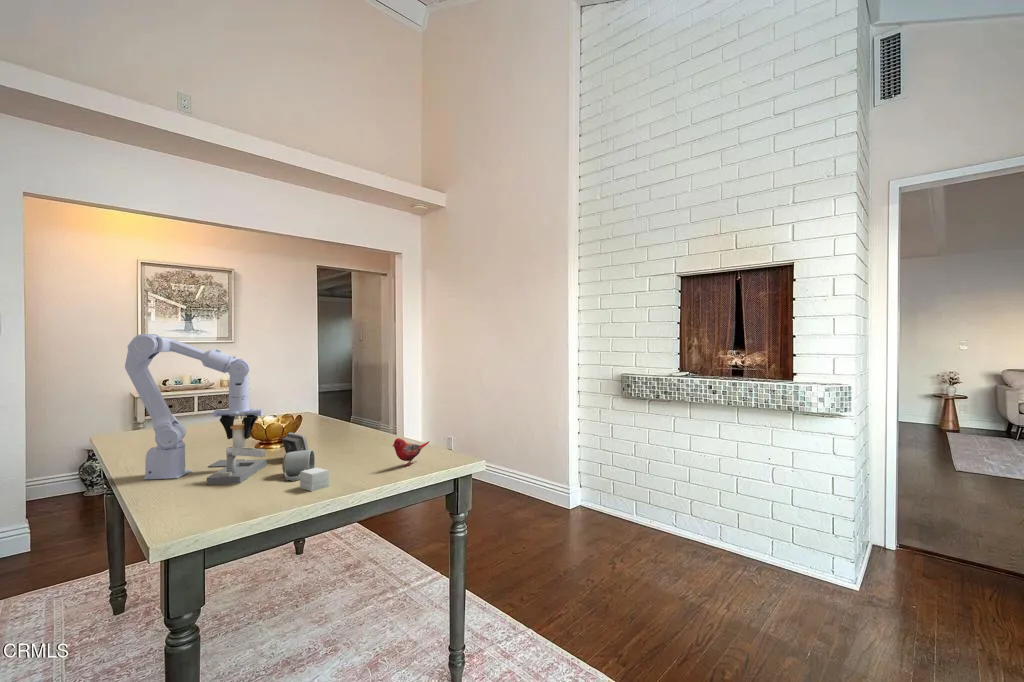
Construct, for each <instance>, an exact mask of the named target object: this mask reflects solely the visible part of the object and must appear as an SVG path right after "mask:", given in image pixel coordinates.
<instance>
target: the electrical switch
mask: <svg viewBox="0 0 1024 682" xmlns="http://www.w3.org/2000/svg"><path fill="white" fill-rule="evenodd" d="M281 441H282V444H283V448H284V451H285V454H286V453H289V452H294V451H303V450H310V448H309V445H308V442H307V438H306V435H304V434H301V433H295V432H288V433H287V435H286V436H285V437H283V438H281Z"/></svg>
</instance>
